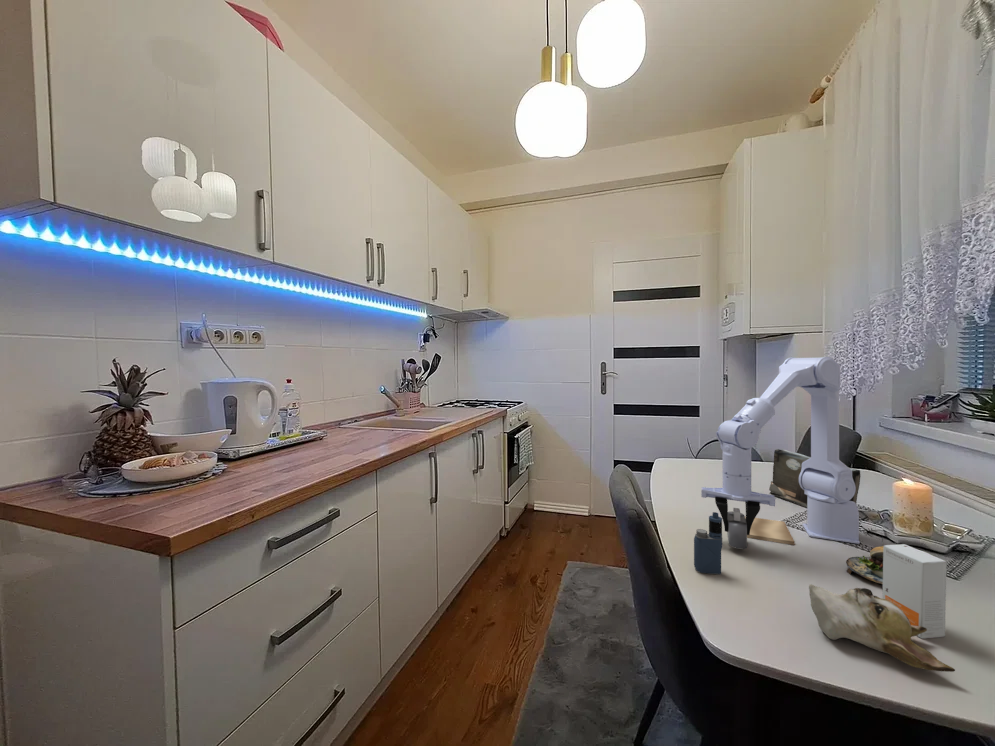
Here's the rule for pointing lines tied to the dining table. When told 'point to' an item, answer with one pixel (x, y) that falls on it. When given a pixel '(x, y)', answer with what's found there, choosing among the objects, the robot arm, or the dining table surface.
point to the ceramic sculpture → (871, 625)
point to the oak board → (770, 531)
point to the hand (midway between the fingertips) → (736, 531)
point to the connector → (737, 529)
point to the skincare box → (916, 587)
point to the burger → (868, 565)
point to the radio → (795, 477)
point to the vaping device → (709, 547)
